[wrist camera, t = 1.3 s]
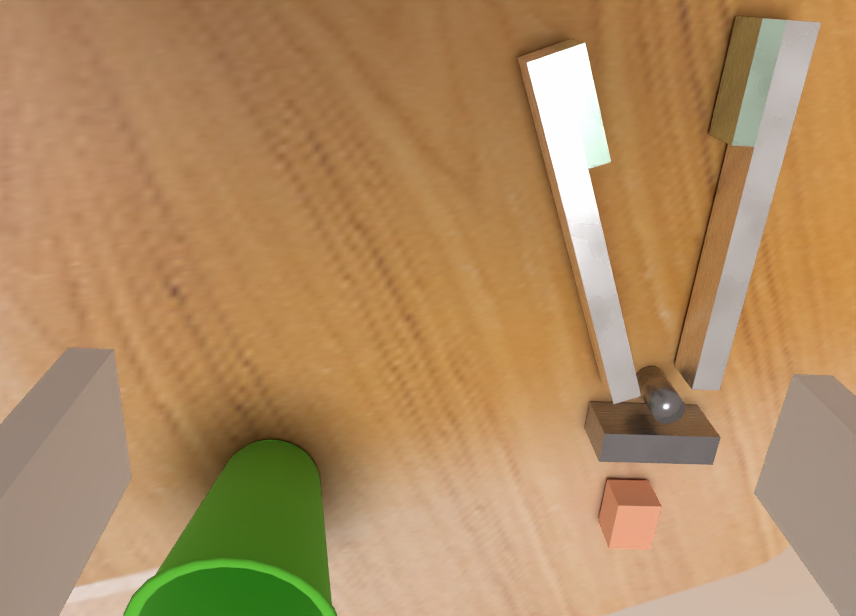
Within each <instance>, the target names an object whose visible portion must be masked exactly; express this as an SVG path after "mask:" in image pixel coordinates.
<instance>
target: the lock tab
mask: <svg viewBox="0 0 856 616" xmlns="http://www.w3.org/2000/svg"><path fill="white" fill-rule="evenodd" d="M661 508H662V506H661V504H660V502H659V500H658V498H657V496H656V494H655V493H654V491H653V489H652V487H651V485H650V483H649V481H642V480H607V483H606V488H605V492H604V497H603V502H602V507H601V511H600V516H599V524H600V526H601V529H602V532H603V534H604V537H605V539H606V542H607V545H608V547H609V548H626V549H651V546H652V543H653V539H654V535H655V531H656V527H657V523H658V519H659V515H660V511H661Z"/></svg>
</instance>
